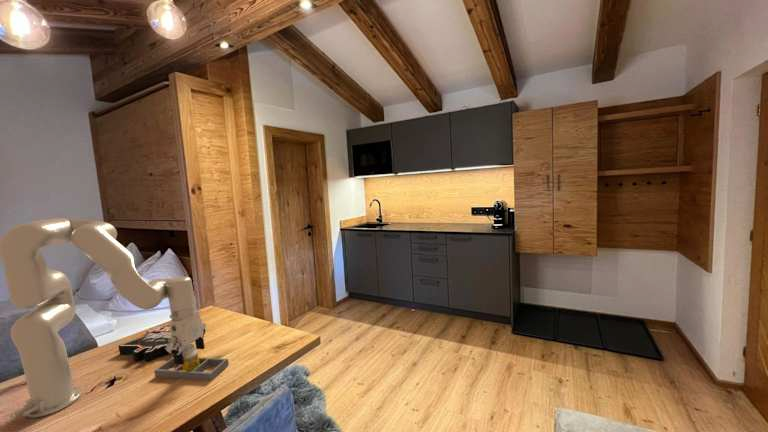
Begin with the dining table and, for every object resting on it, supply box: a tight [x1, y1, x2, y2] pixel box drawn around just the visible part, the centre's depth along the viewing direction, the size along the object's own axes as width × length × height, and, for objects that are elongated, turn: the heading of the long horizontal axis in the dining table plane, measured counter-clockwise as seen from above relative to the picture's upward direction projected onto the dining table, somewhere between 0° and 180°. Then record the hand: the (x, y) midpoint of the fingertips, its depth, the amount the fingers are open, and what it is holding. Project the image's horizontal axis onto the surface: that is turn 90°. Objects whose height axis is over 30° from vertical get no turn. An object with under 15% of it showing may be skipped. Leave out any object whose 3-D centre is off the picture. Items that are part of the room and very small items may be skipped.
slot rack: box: [153, 355, 230, 382], centre depth 114 cm, size 9×23×3 cm, turn 80°
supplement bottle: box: [182, 343, 200, 371], centre depth 113 cm, size 5×5×10 cm
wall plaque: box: [118, 324, 182, 363], centre depth 137 cm, size 28×4×30 cm
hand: (190, 356), depth 113 cm, fingers open, 9 cm apart
